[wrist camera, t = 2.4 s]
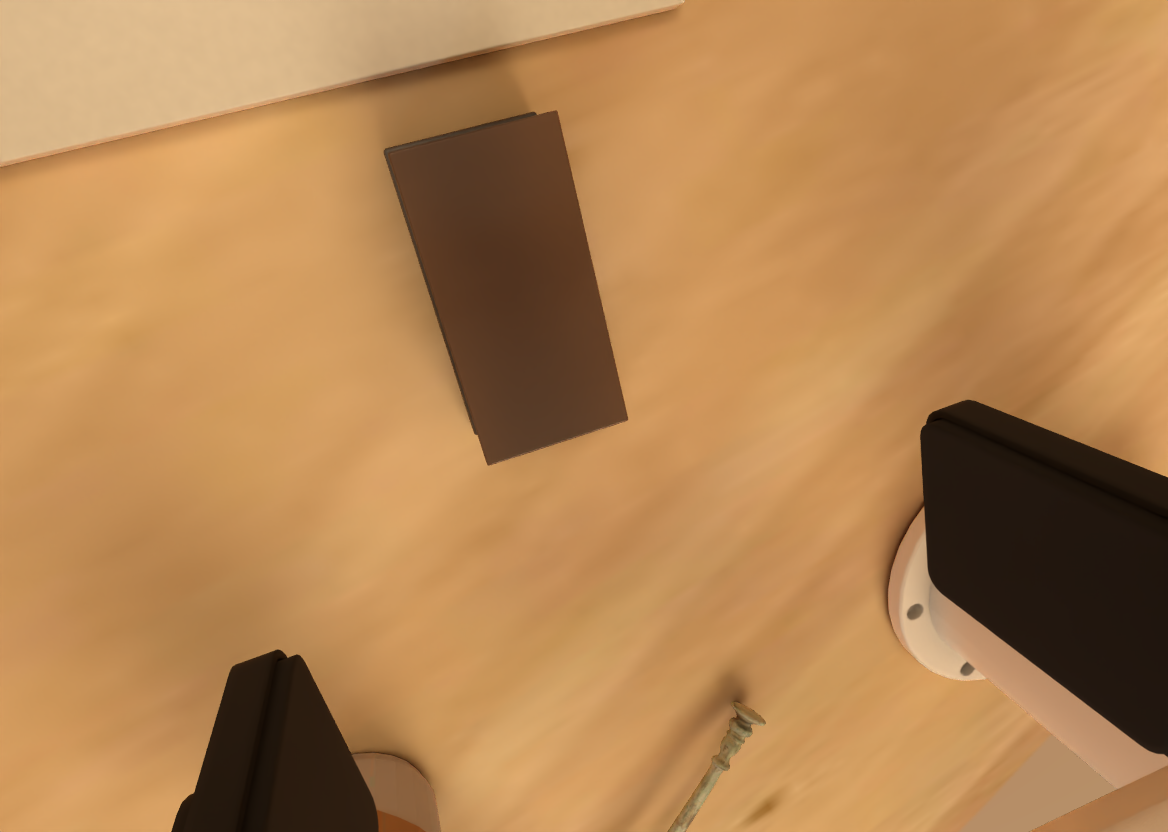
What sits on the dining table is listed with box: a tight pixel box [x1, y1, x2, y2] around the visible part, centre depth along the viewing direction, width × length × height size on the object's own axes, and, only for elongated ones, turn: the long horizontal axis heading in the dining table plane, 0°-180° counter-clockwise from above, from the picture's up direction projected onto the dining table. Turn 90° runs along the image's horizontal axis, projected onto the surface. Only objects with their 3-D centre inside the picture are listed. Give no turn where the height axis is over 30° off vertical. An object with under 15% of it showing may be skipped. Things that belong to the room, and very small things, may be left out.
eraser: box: [384, 111, 628, 465], centre depth 23 cm, size 5×10×4 cm, turn 14°
